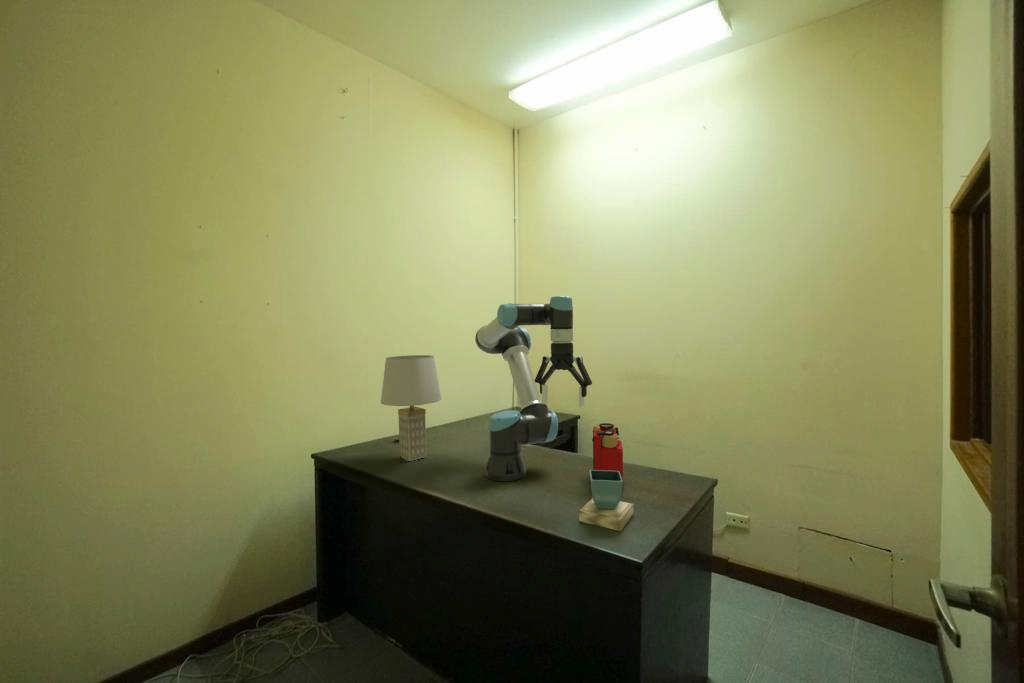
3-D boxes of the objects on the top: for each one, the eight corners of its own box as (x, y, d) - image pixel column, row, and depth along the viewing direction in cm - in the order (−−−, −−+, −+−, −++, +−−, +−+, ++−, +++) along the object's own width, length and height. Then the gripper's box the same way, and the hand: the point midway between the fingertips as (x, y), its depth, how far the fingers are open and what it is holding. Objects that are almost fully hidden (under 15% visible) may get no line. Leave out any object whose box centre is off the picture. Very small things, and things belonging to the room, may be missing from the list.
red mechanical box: (623, 489, 145) (622, 430, 144) (592, 487, 147) (592, 429, 146) (621, 473, 160) (620, 420, 160) (593, 471, 162) (592, 419, 162)
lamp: (372, 458, 185) (369, 357, 183) (423, 446, 202) (420, 354, 200) (400, 472, 166) (397, 360, 165) (454, 457, 183) (451, 356, 182)
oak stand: (579, 521, 122) (579, 509, 122) (594, 505, 132) (594, 495, 132) (620, 531, 116) (620, 519, 115) (633, 514, 126) (633, 502, 126)
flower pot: (619, 500, 128) (619, 470, 127) (623, 513, 119) (623, 481, 119) (589, 499, 129) (589, 469, 129) (591, 511, 120) (590, 480, 120)
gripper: (524, 342, 148) (525, 403, 149) (592, 342, 135) (593, 410, 135) (534, 341, 154) (535, 400, 155) (601, 341, 141) (602, 406, 142)
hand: (562, 405), depth 145 cm, fingers open, 13 cm apart
